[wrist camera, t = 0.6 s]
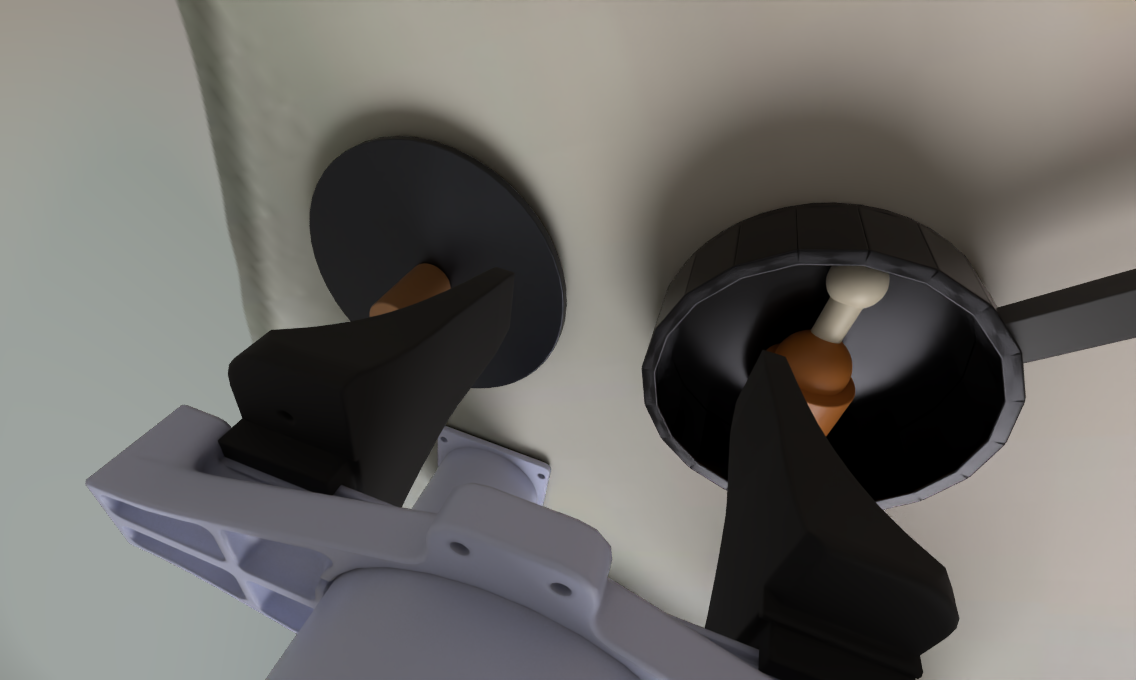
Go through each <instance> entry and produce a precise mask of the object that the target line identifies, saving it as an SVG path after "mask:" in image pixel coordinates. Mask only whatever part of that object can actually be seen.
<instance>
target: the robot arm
mask: <svg viewBox="0 0 1136 680" xmlns="http://www.w3.org/2000/svg"><path fill="white" fill-rule="evenodd" d="M514 278H515V273H514V272H511V271H508V270H505V269H501V268H498V267H494V268H492V269H490V270H488V271H485V272H483V273H481V274H479V275H477V276H475V277H474V278H472V279H470V280H468V281H466V282H463V283H461V284H459V285H457V286H455V287H453V288H451V289H449V290H447V291H445V292H442V293H440V294H437V295H435V296H433V297H430V298H428V299H425V300H423V301H421V302H418V303H416V304H413V305H410V306H407V307H404V308H401V309H398V310H395V311H392V312H388V313H385V314H381V315H377V316H372V317H368V318H364V319H359V320H355V321H350V322H345V323H339V324H332V325H325V326H317V327H308V328H294V329H280V330H271V331H269V332H268V333H266V334H265V335H264V336H262V337H261V338H260V339H259V340H257V341H256V342H255V343H253V344H252V345H251V346H249V347H248V348H247V349H246V350H244V351H243V352H242V353H240V354H239V355H238V356H236V357H235V358H234V359H233V360H232V362H231V363H230V364H229V369H228V377H229V381H230V386H231V388H232V391H233V394H234V396H235V399H236V402H237V404H238V407H239V410H240V413H241V416H242V419H241V420H240V421H239V422H238V423H237V424H236V425H234V426H233V427H232V428H231V426H230V425H229V424H228V423H227V422H225V421H224V420H222V419H220V418H219V417H216V416H214V415H211V414H208V413H206V412H203V411H201V410H198V409H196V408H193V407H190V406H188V405H181V406H180V407H179V408H177V409H176V410H175V411H173V412H172V413H171V414H170V415H168V416H167V417H166V418H165V419H163V420H162V421H161V422H159V423H158V424H157V425H156V426H154V427H153V428H152V429H150V430H149V431H148V432H147V433H145V434H144V435H143V436H141V437H140V438H139V439H138V440H136V441H135V442H134V443H132V444H131V445H130V446H129V447H127V448H126V449H125V450H123V451H122V452H121V453H120V454H119V455H117V456H116V457H115V458H113V459H112V460H111V461H110V462H108V463H107V464H106V465H104V466H103V467H102V468H100V469H99V470H98V471H97V472H95V473H94V474H93V475H91V476H90V477H89V478H88V479H86V486H87V487H88V488H89V490H90V491H91V492H92V494H93V495H94V497H95V498H96V499H97V501H98V502H99V503H100V505H101V506H102V507H103V509H104V510H105V511H106V513H107V514H108V516H109V517H110V518H111V520H112V521H113V522H114V524H115V525H116V526H117V528H118V529H119V530H120V532H121V533H122V535H123V536H124V537H125V539H126V540H127V541H128V542H129V543H130V544H131V545H133V546H136V547H138V548H140V549H142V550H144V551H147V552H149V553H151V554H153V555H155V556H157V557H159V558H161V559H164V560H166V561H168V562H169V563H171V564H174V565H175V566H177V567H179V568H181V569H183V570H185V571H187V572H189V573H191V574H193V575H195V576H196V577H198V578H200V579H202V580H204V581H205V582H207V583H209V584H211V585H213V586H214V587H216V588H218V589H220V590H222V591H223V592H225V593H227V594H228V595H230V596H232V597H234V598H235V599H237V600H239V601H241V602H242V603H244V604H246V605H248V606H249V607H251V608H253V609H254V610H256V611H258V612H260V613H262V614H263V615H265V616H267V617H268V618H270V619H272V620H274V621H275V622H277V623H279V624H281V625H282V626H284V627H286V628H287V629H289V630H291V631H293V632H295V633H296V634H297V635H296V636H295V638H294V639H293V640H292V642H291V643H290V645H289V646H288V648H287V649H286V650H285V652H284V653H283V655H282V656H281V658H280V659H279V661H278V662H277V663H276V665H275V666H274V668H273V669H272V671H271V672H270V673H269V675H268V676H267V678H266V679H265V680H916V679H915V678H917V679H919V678H921V677H922V674H923V669H922V664H921V659H920V655H921V654H923V653H924V652H926V651H927V650H929V649H930V648H932V647H933V646H935V645H936V644H938V643H939V642H941V641H942V640H944V639H945V638H947V637H948V636H949V635H950V634H951V633H952V632H953V631H954V630H955V629H956V628H957V625H958V621H959V615H958V611H957V607H956V603H955V598H954V594H953V590H952V586H951V583H950V580H949V577H948V574H947V571H946V568H945V567H944V566H943V565H942V564H940V563H939V562H938V561H937V560H936V559H935V558H934V557H932V556H931V555H930V554H929V553H928V552H927V551H926V550H924V549H923V548H922V547H921V546H920V545H919V544H918V543H916V542H915V541H914V540H913V539H912V538H911V537H910V536H909V535H908V534H907V533H905V532H904V531H903V530H902V529H901V528H900V527H899V526H898V525H897V524H896V523H895V522H894V521H893V520H892V519H891V518H890V517H889V516H888V515H887V514H886V513H885V512H884V510H883V509H882V508H881V507H880V506H879V505H878V504H877V503H876V502H875V501H874V500H873V498H872V497H871V496H870V495H869V494H868V493H867V492H866V490H865V489H864V488H863V487H862V486H861V485H860V483H859V482H858V481H857V480H856V478H855V477H854V476H853V475H852V473H851V472H850V471H849V470H848V468H847V467H846V465H845V464H844V463H843V461H842V460H841V458H840V457H839V456H838V454H837V453H836V452H835V450H834V449H833V447H832V446H831V444H830V443H829V441H828V439H827V438H826V436H825V434H824V433H823V431H822V429H821V428H820V426H819V424H818V423H817V421H816V419H815V417H814V415H813V413H812V411H811V409H810V408H809V406H808V404H807V402H806V400H805V398H804V396H803V394H802V391H801V389H800V387H799V385H798V383H797V381H796V378H795V376H794V374H793V372H792V369H791V367H790V365H789V363H788V361H787V359H786V357H785V356H782V355H779V354H775V353H772V352H769V351H766V350H762V352H761V354H760V356H759V358H758V360H757V362H756V364H755V366H754V368H753V370H752V372H751V374H750V376H749V378H748V380H747V382H746V384H745V386H744V387H743V389H742V391H741V393H740V395H739V397H738V399H737V401H736V405H735V410H734V415H733V421H732V426H731V432H730V447H729V467H728V490H727V506H726V516H725V523H724V529H723V535H722V541H721V547H720V553H719V558H718V564H717V569H716V575H715V580H714V585H713V590H712V595H711V601H710V606H709V611H708V616H707V620H706V625H705V628H702V627H700V626H697V625H695V624H692V623H690V622H687V621H685V620H682V619H680V618H677V617H675V616H672V615H670V614H667V613H665V612H664V611H662V610H660V609H659V608H657V607H655V606H654V605H652V604H651V603H649V602H647V601H646V600H644V599H643V598H641V597H639V596H638V595H636V594H634V593H633V592H631V591H630V590H628V589H626V588H625V587H623V586H622V585H620V584H618V583H617V582H615V581H613V580H612V579H610V578H609V577H608V573H609V570H610V566H611V562H612V552H611V546H610V545H609V543H608V542H607V541H606V540H605V539H604V537H603V536H602V535H601V534H600V533H599V532H598V530H596V529H595V528H593V527H591V526H589V525H587V524H586V523H584V522H582V521H580V520H578V519H575V518H573V517H570V516H568V515H565V514H562V513H560V512H557V511H554V510H552V509H549V508H546V507H544V506H543V503H544V499H545V495H546V490H547V486H548V481H549V477H550V472H551V468H550V466H549V465H548V464H546V463H544V462H542V461H539V460H536V459H534V458H531V457H528V456H525V455H523V454H520V453H517V452H515V451H512V450H509V449H507V448H504V447H501V446H499V445H496V444H493V443H490V442H488V441H485V440H482V439H480V438H477V437H474V436H472V435H469V434H466V433H464V432H461V431H458V430H456V429H453V428H450V427H447V426H445V425H446V423H447V421H448V420H449V418H450V416H451V415H452V413H453V412H454V410H455V409H456V407H457V406H458V404H459V403H460V402H461V400H462V399H463V398H464V396H465V395H466V394H467V392H468V391H469V390H470V388H471V387H472V385H473V384H474V383H475V381H476V380H477V379H478V377H479V376H480V375H481V373H482V372H483V371H484V369H485V368H486V367H487V365H488V364H489V362H490V361H491V360H492V358H493V357H494V355H495V354H496V352H497V350H498V349H499V347H500V345H501V343H502V341H503V339H504V338H505V336H506V334H507V332H508V330H509V328H510V319H511V309H512V298H513V288H514ZM437 439H438V469H437V470H436V472H435V474H434V475H433V477H432V478H431V480H430V481H429V483H428V484H427V486H426V487H425V489H424V491H423V492H422V494H421V495H420V497H419V498H418V500H417V501H416V503H415V504H414V506H413V507H412V509H408V508H402V505H403V503H404V501H405V499H406V497H407V495H408V493H409V491H410V489H411V487H412V485H413V483H414V481H415V480H416V478H417V476H418V474H419V472H420V470H421V468H422V466H423V464H424V462H425V461H426V459H427V457H428V455H429V453H430V451H431V450H432V448H433V446H434V444H435V442H436V440H437Z"/></svg>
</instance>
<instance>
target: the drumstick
mask: <svg viewBox="0 0 1136 680" xmlns="http://www.w3.org/2000/svg"><path fill="white" fill-rule="evenodd" d="M889 282H890V278H889V273H885V272H882V271H878V270H875V269H872V268H868V267H865V266H831V268H830V269H829V272H828V274H827V277H826V287H827V291H828V293H829V295H830V298H829V300H828V302H827V303H826V305H825V307H824V308H823V310H822V312H821V314H820V315H819V317H818V319H817V320H816V322H815V324H814V326H813V327H812V329H811V330H802V331H799V332H796V333H794V334H791V335H790V336H788V337H787V338H786V339H784V340H783V341H782V342H781V343H778V344H775V345H773V346H771V347H769V348H768V349H767V350H766V351H769V352H772V353H775V354H779V355H782V356H785V357H786V359H787V361H788V363H789V365H790V367H791V369H792V372H793V374H794V376H795V378H796V381H797V383H798V385H799V387H800V389H801V391H802V394H803V396H804V398H805V400H806V402H807V404H808V406H809V408H810V409H811V411H812V413H813V415H814V417H815V419H816V421H817V423H818V424H819V426H820V428H821V429H822V431H823V433H824V434H825V436H827V435H828V433H829V432H830V430H831V429H832V428H833V426H834V425H835V424H836V422H837V421H838V419H839V418H840V417H841V415H842V414H843V413H844V411H845V410H846V408H847V407H848V406H849V404H850V403H851V402H852V400H853V399H854V396H855V384H854V382H853V380H852V378H851V375H852V359H851V355H850V353H849V351H848V349H847V347H846V346H845V345H844V344H843V342H842V340H843V339H844V337H845V336H846V334H847V332H848V331H849V329H850V328H851V326H852V325H853V323H854V322H855V320H856V318H857V317H858V315H859V314H860V312H861V311H862V309H863V308H867V307H870V306H872V305H874V304H876V303H877V302H878V301H880V300H881V299H882V298H883V296H884V295H885V294H886V292H887V290H888V287H889Z"/></svg>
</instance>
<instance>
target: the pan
mask: <svg viewBox="0 0 1136 680" xmlns="http://www.w3.org/2000/svg"><path fill="white" fill-rule="evenodd" d="M831 266H865V267H868V268H872V269H875V270H878V271H882V272H885V273H889V278H890V282H889V287H888V290H887V292H886V294H885V295H884V296H883V298H882V299H881V300H880V301H878V302H877V303H876V304H874V305H872V306H870V307H867V308H863V309H862V311H861V312H860V314H859V315H858V317H857V318H856V320H855V322H854V323H853V325H852V326H851V328H850V329H849V331H848V332H847V334H846V336H845V337H844V339H843V340H842V342H843V344H844V345H845V346H846V347H847V349H848V351H849V353H850V355H851V359H852V375H851V378H852V380H853V382H854V384H855V396H854V399H853V400H852V402H851V403H850V404H849V406H848V407H847V408H846V410H845V411H844V413H843V414H842V415H841V417H840V418H839V419H838V421H837V422H836V424H835V425H834V426H833V428H832V429H831V430H830V432H829V433H828V435H827V436H826V438H827V439H828V441H829V443H830V444H831V446H832V447H833V449H834V450H835V452H836V453H837V454H838V456H839V457H840V458H841V460H842V461H843V463H844V464H845V465H846V467H847V468H848V470H849V471H850V472H851V473H852V475H853V476H854V477H855V478H856V480H857V481H858V482H859V483H860V485H861V486H862V487H863V488H864V489H865V490H866V492H867V493H868V494H869V495H870V496H871V497H872V498H873V500H874V501H875V502H876V503H877V504H878V505H879V506H880V507H881V508H882V509H883V510H884V509H888V508H893V507H897V506H901V505H906V504H910V503H915V502H919V501H921V500H924V499H926V498H928V497H930V496H932V495H935V494H937V493H939V492H941V491H943V490H945V489H947V488H949V487H951V486H953V485H955V484H957V483H959V482H961V481H963V480H965V479H967V478H968V477H970V476H971V475H973V474H974V473H975V472H976V471H977V470H978V469H979V468H980V467H981V466H982V465H983V464H984V463H986V462H987V461H988V460H989V459H990V458H991V457H992V456H993V455H994V454H995V453H996V452H997V451H999V450H1000V449H1001V448H1002V447H1003V446H1004V445H1005V443H1006V442H1007V440H1008V438H1009V436H1010V433H1011V431H1012V429H1013V427H1014V425H1015V423H1016V420H1017V418H1018V416H1019V414H1020V412H1021V409H1022V407H1023V405H1024V403H1025V399H1026V395H1025V381H1024V367H1023V353H1022V350H1021V348H1020V346H1019V345H1018V343H1017V341H1016V340H1015V338H1014V337H1013V335H1012V333H1011V332H1010V330H1009V329H1008V327H1007V326H1006V324H1005V322H1004V321H1003V319H1002V317H1001V315H1000V314H999V312H998V310H997V306H996V304H995V302H994V301H993V299H992V297H991V295H990V294H989V292H988V291H987V289H986V287H985V286H984V284H983V283H982V281H981V280H980V278H979V276H978V275H977V273H976V272H975V270H974V269H973V267H972V266H971V264H970V263H969V261H968V259H967V258H966V256H965V255H963V253H962V252H960V251H959V250H957V249H956V248H955V247H954V246H953V245H952V244H951V243H950V242H949V241H948V240H946V239H945V238H943V237H942V236H940V235H939V234H938V233H936V232H935V231H933V230H932V229H930V228H928V227H926V226H924V225H922V224H920V223H918V222H916V221H914V220H912V219H910V218H908V217H905V216H902V215H899V214H896V213H893V212H891V211H888V210H884V209H879V208H874V207H869V206H864V205H857V204H846V203H810V204H803V205H797V206H790V207H784V208H780V209H777V210H773V211H769V212H765V213H762V214H759V215H757V216H754V217H751V218H749V219H746V220H744V221H741V222H739V223H737V224H736V225H734V226H732V227H730V228H728V229H726V230H724V231H722V232H721V233H719V234H718V235H717V236H715V237H714V238H712V239H711V240H709V241H708V242H707V243H705V244H704V245H703V246H702V247H701V248H700V249H699V250H697V251H696V252H695V253H694V254H693V255H692V256H691V257H690V258H689V259H688V261H687V262H686V263H685V264H684V265H683V267H682V268H681V269H680V270H679V272H678V273H677V275H676V277H675V278H674V280H673V281H672V282H671V284H670V285H669V287H668V290H667V293H666V296H665V299H664V301H663V304H662V307H661V310H660V313H659V316H658V319H657V322H656V325H655V328H654V331H653V334H652V337H651V341H650V344H649V347H648V350H647V353H646V356H645V359H644V362H643V365H642V378H643V390H644V402H645V406H646V408H647V410H648V412H649V414H650V416H651V418H652V420H653V422H654V424H655V427H656V429H657V431H658V433H659V435H660V437H661V438H662V440H663V441H664V442H665V443H666V444H667V445H668V446H669V447H670V448H671V449H672V450H673V451H674V452H675V453H676V454H677V455H678V456H679V457H680V458H681V459H682V461H683V462H684V463H685V464H686V465H687V466H688V467H690V468H691V469H693V470H694V471H696V472H697V473H699V474H701V475H702V476H704V477H705V478H707V479H709V480H710V481H712V482H713V483H715V484H717V485H718V486H720V487H721V488H723V489H725V490H728V467H729V447H730V432H731V426H732V421H733V415H734V410H735V405H736V401H737V399H738V397H739V395H740V393H741V391H742V389H743V387H744V386H745V384H746V382H747V380H748V378H749V376H750V374H751V372H752V370H753V368H754V366H755V364H756V362H757V360H758V358H759V356H760V354H761V352H762V350H767V349H768V348H769V347H771V346H773V345H775V344H778V343H781V342H782V341H783V340H784V339H786V338H787V337H788V336H790V335H791V334H794V333H796V332H799V331H802V330H811V329H812V327H813V326H814V324H815V322H816V320H817V319H818V317H819V315H820V314H821V312H822V310H823V308H824V307H825V305H826V303H827V302H828V300H829V298H830V295H829V293H828V291H827V287H826V277H827V274H828V272H829V269H830V268H831Z"/></svg>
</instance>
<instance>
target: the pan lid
mask: <svg viewBox="0 0 1136 680" xmlns="http://www.w3.org/2000/svg"><path fill="white" fill-rule="evenodd" d="M310 235H311V243H312V247H313V251H314V255H315V259H316V262H317V264H318V267H319V270H320V273H321V275H322V277H323V279H324V281H325V283H326V285H327V287H328V289H329V291H330V293H331V294H332V296H333V298H334V299H335V301H336V302H337V304H338V305H339V307H340V308H341V310H342V311H343V312H344V314H345V315H346V316H347V317H348V319H349V320H350V321H355V320H359V319H364V318H368V317H372V316H377V315H381V314H385V313H388V312H392V311H395V310H398V309H401V308H404V307H407V306H410V305H413V304H416V303H418V302H421V301H423V300H425V299H428V298H430V297H433V296H435V295H437V294H440V293H442V292H445V291H447V290H449V289H451V288H453V287H455V286H457V285H459V284H461V283H463V282H466V281H468V280H470V279H472V278H474V277H475V276H477V275H479V274H481V273H483V272H485V271H488V270H490V269H492V268H494V267H498V268H501V269H505V270H508V271H511V272H514V273H515V278H514V288H513V298H512V309H511V319H510V328H509V330H508V332H507V334H506V336H505V338H504V339H503V341H502V343H501V345H500V347H499V349H498V350H497V352H496V354H495V355H494V357H493V358H492V360H491V361H490V362H489V364H488V365H487V367H486V368H485V369H484V371H483V372H482V373H481V375H480V376H479V377H478V379H477V380H476V381H475V383H474V384H473V385H472V387H471V388H492V387H499V386H504V385H507V384H511V383H514V382H516V381H518V380H520V379H523V378H525V377H527V376H528V375H529V374H531V373H532V372H534V371H535V370H537V369H538V368H539V367H540V366H541V365H542V364H543V363H544V362H545V361H546V359H547V358H548V357H549V355H550V354H551V352H552V351H553V349H554V348H555V346H556V344H557V342H558V339H559V337H560V335H561V333H562V329H563V326H564V322H565V316H566V307H567V299H566V285H565V280H564V274H563V270H562V267H561V263H560V260H559V257H558V254H557V252H556V249H555V247H554V245H553V243H552V241H551V239H550V236H549V234H548V233H547V231H546V229H545V228H544V226H543V225H542V223H541V221H540V220H539V218H538V216H537V215H536V214H535V213H534V211H533V210H532V209H531V207H530V206H529V205H528V204H527V202H526V201H525V200H524V199H523V198H522V197H521V196H520V195H519V194H518V192H517V191H516V190H515V189H514V188H513V187H512V186H511V185H510V184H509V183H507V182H506V181H505V180H504V179H503V178H501V177H500V176H499V175H498V174H497V173H495V172H494V171H493V170H492V169H490V168H489V167H487V166H486V165H484V164H483V163H481V162H480V161H478V160H477V159H475V158H473V157H471V156H469V155H467V154H465V153H463V152H461V151H459V150H457V149H455V148H453V147H450V146H447V145H444V144H442V143H439V142H436V141H432V140H427V139H422V138H418V137H406V136H391V137H380V138H377V139H373V140H369V141H365V142H363V143H361V144H359V145H357V146H355V147H353V148H351V149H349V150H347V151H345V152H344V153H342V154H341V155H340V156H338V157H337V158H336V159H335V160H333V162H332V163H331V164H330V165H329V166H328V167H327V169H326V170H325V171H324V173H323V174H322V176H321V178H320V180H319V181H318V183H317V185H316V188H315V191H314V194H313V197H312V202H311V208H310Z"/></svg>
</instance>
